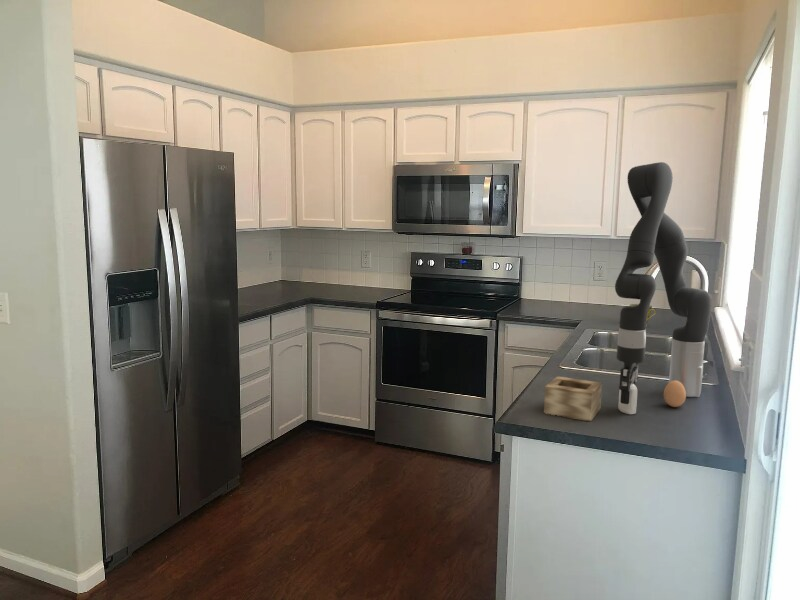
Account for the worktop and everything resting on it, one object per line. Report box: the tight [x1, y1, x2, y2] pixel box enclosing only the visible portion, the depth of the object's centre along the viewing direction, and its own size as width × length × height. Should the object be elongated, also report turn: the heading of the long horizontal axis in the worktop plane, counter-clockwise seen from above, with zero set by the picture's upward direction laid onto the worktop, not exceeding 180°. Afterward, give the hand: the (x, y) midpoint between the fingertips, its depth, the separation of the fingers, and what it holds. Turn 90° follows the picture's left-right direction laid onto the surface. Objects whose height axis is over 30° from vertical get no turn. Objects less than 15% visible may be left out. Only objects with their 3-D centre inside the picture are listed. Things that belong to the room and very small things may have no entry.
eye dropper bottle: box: [617, 383, 638, 415], centre depth 185 cm, size 4×6×12 cm
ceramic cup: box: [629, 303, 657, 328], centre depth 307 cm, size 13×10×10 cm
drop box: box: [543, 375, 603, 423], centre depth 185 cm, size 13×12×8 cm
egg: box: [663, 380, 687, 408], centre depth 190 cm, size 6×6×8 cm
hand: (627, 399), depth 185 cm, fingers open, 8 cm apart
